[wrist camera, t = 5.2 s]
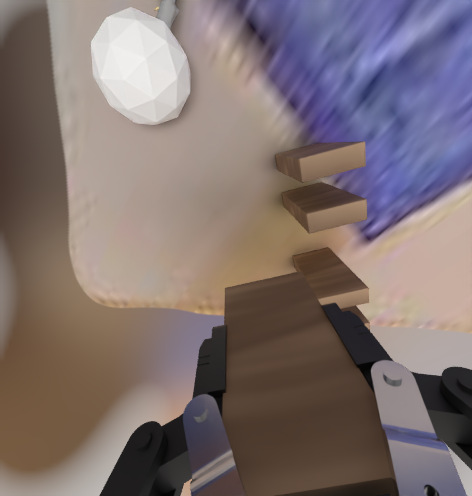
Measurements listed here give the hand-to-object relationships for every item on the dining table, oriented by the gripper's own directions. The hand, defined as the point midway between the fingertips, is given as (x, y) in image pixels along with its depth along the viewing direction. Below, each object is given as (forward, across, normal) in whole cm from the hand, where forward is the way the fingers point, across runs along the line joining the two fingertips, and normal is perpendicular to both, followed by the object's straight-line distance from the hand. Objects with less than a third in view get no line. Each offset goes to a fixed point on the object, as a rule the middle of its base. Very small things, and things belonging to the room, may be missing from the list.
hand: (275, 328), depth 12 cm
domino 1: (+20, -7, -6) cm, 22 cm away
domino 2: (+20, -8, -2) cm, 21 cm away
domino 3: (+20, -8, +7) cm, 22 cm away
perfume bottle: (+20, +5, -18) cm, 27 cm away
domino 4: (+3, 0, 0) cm, 3 cm away
